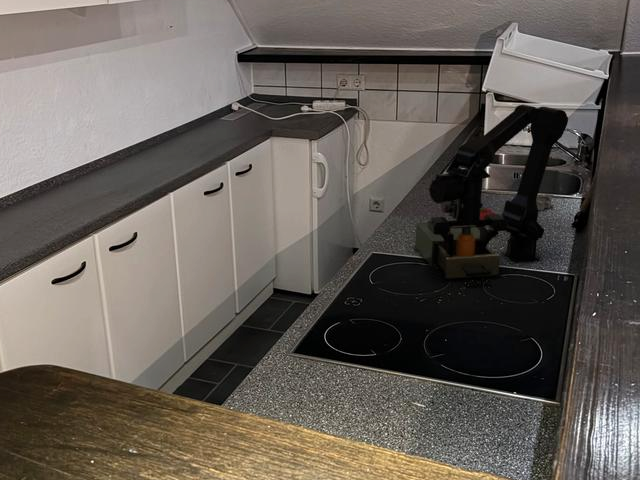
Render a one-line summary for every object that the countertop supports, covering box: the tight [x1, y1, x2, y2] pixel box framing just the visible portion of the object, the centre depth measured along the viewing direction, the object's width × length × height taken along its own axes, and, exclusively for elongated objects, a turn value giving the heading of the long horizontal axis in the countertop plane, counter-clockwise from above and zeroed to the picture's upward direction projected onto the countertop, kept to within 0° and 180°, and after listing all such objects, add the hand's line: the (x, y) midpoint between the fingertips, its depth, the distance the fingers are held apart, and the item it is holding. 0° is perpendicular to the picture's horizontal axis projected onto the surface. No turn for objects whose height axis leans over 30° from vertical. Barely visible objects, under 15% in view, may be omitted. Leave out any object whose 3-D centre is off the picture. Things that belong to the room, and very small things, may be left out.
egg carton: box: [514, 193, 554, 211], centre depth 241 cm, size 11×8×4 cm
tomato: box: [477, 207, 496, 230], centre depth 218 cm, size 9×9×8 cm
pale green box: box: [415, 219, 480, 268], centre depth 204 cm, size 15×15×7 cm
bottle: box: [456, 227, 475, 256], centre depth 191 cm, size 5×5×10 cm
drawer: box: [435, 241, 501, 280], centre depth 192 cm, size 18×13×5 cm
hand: (464, 256), depth 192 cm, fingers closed on bottle, 7 cm apart
